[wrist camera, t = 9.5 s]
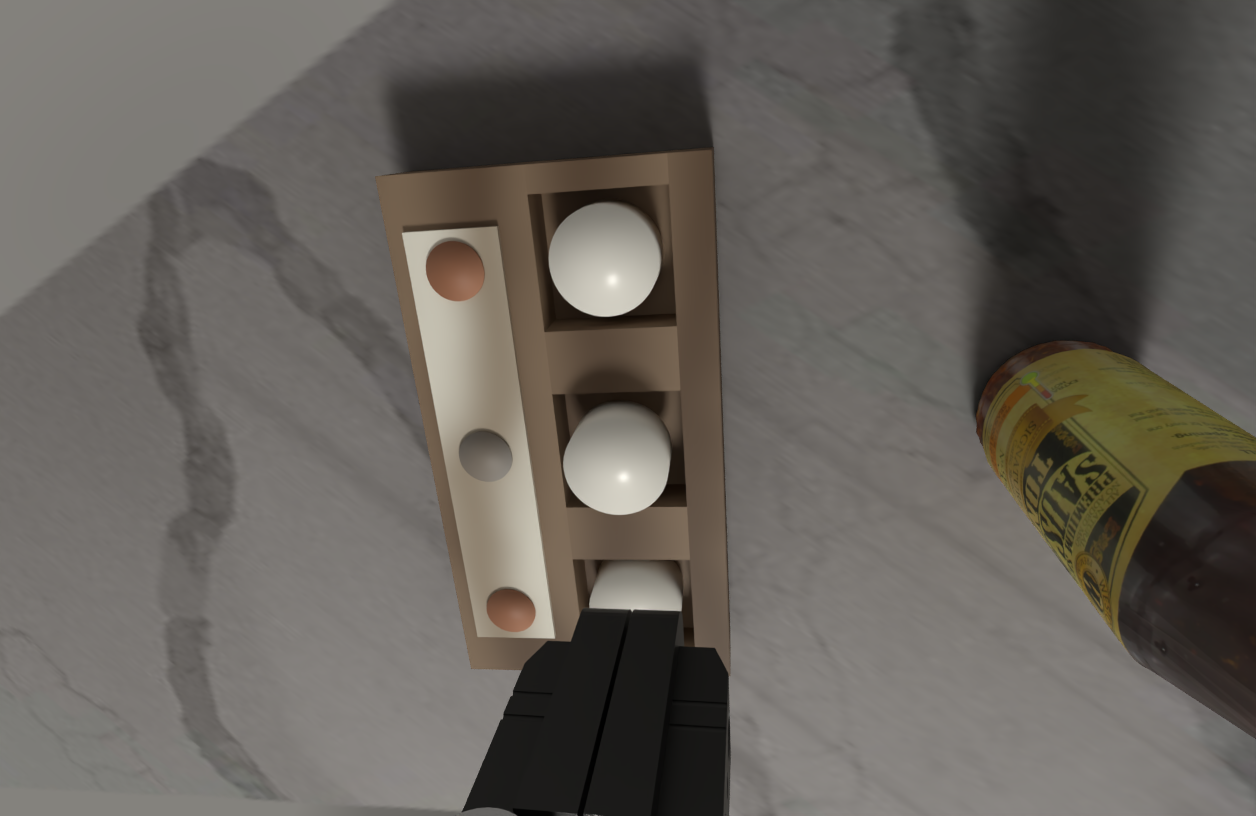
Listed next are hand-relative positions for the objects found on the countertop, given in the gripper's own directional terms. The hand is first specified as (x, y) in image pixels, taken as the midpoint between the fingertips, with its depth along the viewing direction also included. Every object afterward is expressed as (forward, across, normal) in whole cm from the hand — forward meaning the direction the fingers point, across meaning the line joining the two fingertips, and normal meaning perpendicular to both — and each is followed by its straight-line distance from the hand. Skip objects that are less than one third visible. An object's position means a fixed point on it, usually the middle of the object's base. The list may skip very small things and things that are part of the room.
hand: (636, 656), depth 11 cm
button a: (+19, +3, +12) cm, 22 cm away
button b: (+17, +3, +4) cm, 18 cm away
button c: (+19, +3, -3) cm, 19 cm away
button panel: (+20, +5, +4) cm, 21 cm away
